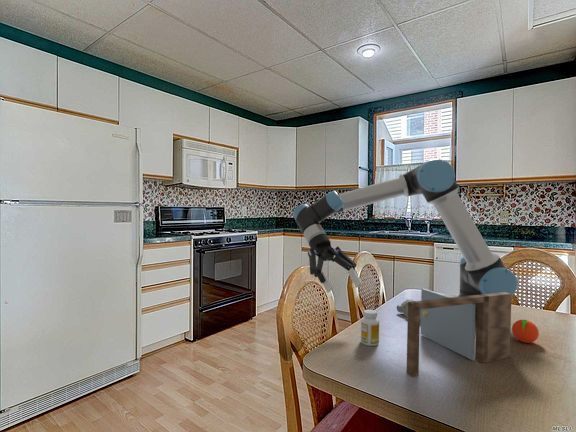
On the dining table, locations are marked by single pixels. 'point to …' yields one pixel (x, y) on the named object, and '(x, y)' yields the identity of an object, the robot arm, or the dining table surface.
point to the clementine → (525, 331)
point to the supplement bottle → (370, 328)
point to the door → (449, 324)
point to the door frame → (489, 326)
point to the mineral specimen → (405, 308)
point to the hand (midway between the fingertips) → (345, 287)
